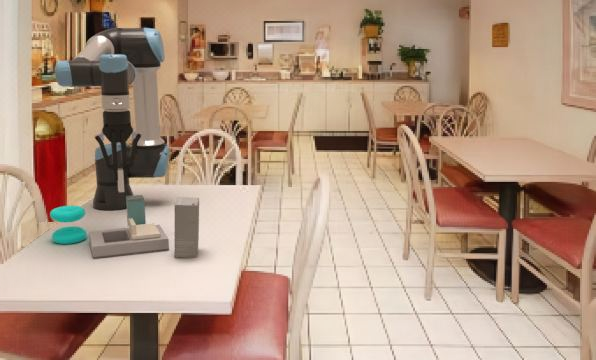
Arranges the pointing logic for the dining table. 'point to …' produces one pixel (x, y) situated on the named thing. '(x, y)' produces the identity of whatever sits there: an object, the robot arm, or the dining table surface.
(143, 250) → the socket plate
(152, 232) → the shutter
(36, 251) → the dining table surface
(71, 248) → the dining table surface
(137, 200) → the green rectangular box
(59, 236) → the donuts
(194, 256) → the skincare box
